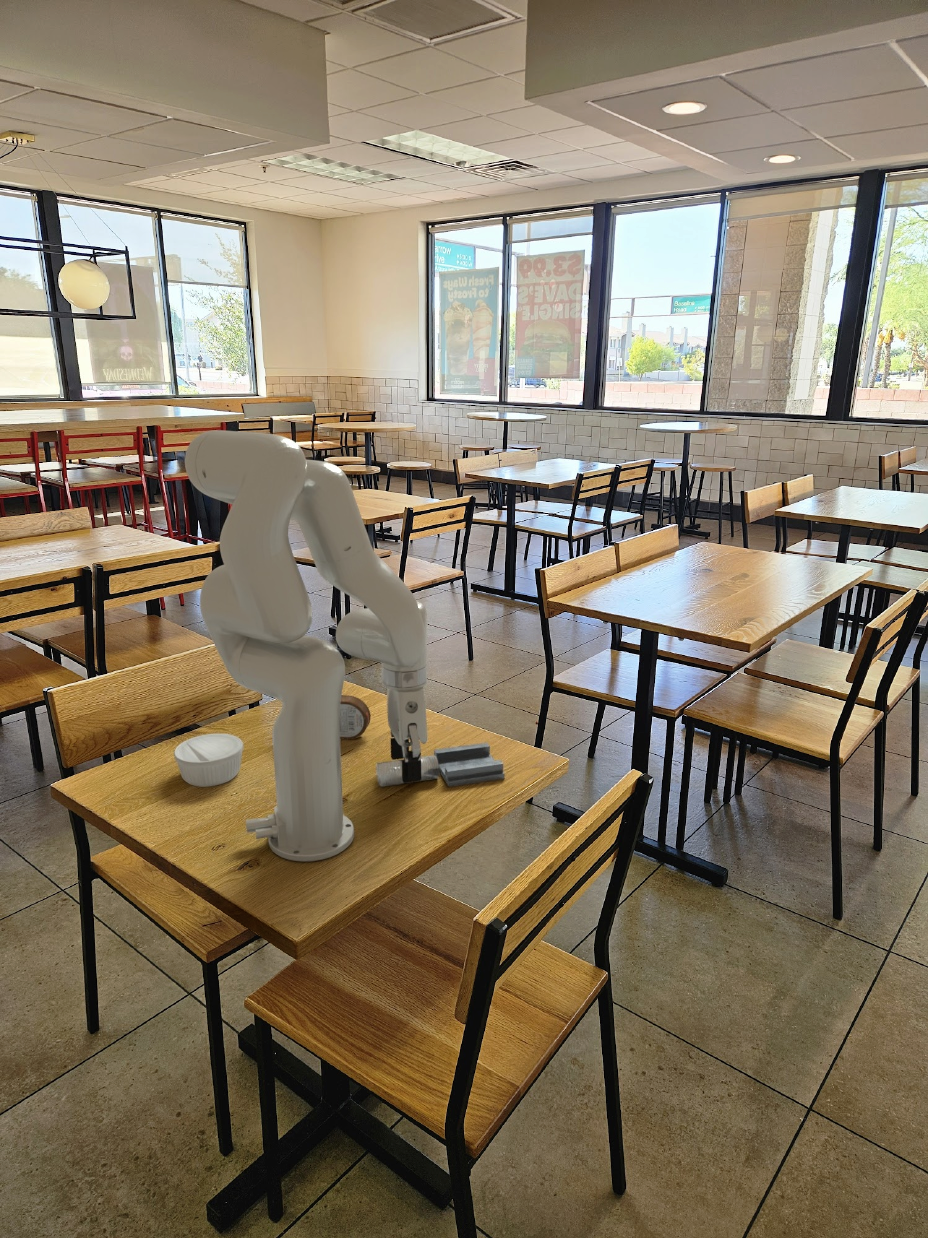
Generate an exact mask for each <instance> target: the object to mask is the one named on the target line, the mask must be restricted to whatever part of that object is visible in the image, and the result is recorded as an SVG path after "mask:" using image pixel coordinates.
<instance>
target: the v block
mask: <svg viewBox="0 0 928 1238" xmlns="http://www.w3.org/2000/svg"><path fill="white" fill-rule="evenodd" d="M490 750H491V746H490V745H489V743H488V742H483V743H475V744H467V745H460V746H450V747H444V748H437V749H434V750H433V755H435V756H436V757H437V760H438V764H439V774H440V775H441V777H442V778H443V780H444V781H445V783H446V785H447V787H448V788H451V787H452V788H453V787H458V786H465V785H466V786H467V785H472V784H479V783H485V782H490V781H491V782H492V781H493V782H494V781H499V780H505V777H506V773H505V772H504V763H503V761H502V760H501V759H496V760H495V758H494V757H493V756H492V754H490V753H491V751H490Z"/></svg>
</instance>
